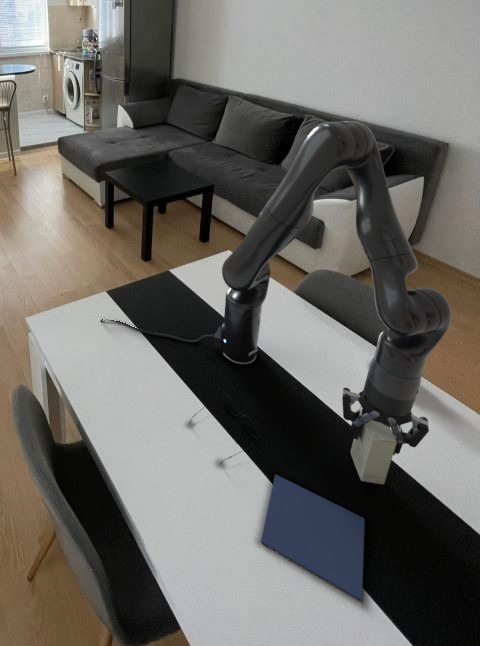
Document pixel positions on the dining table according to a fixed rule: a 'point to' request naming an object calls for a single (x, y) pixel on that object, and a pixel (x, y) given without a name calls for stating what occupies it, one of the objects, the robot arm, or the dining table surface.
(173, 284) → the dining table surface
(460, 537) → the dining table surface
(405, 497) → the dining table surface
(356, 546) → the cloth
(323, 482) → the dining table surface
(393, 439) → the cosmetic box
